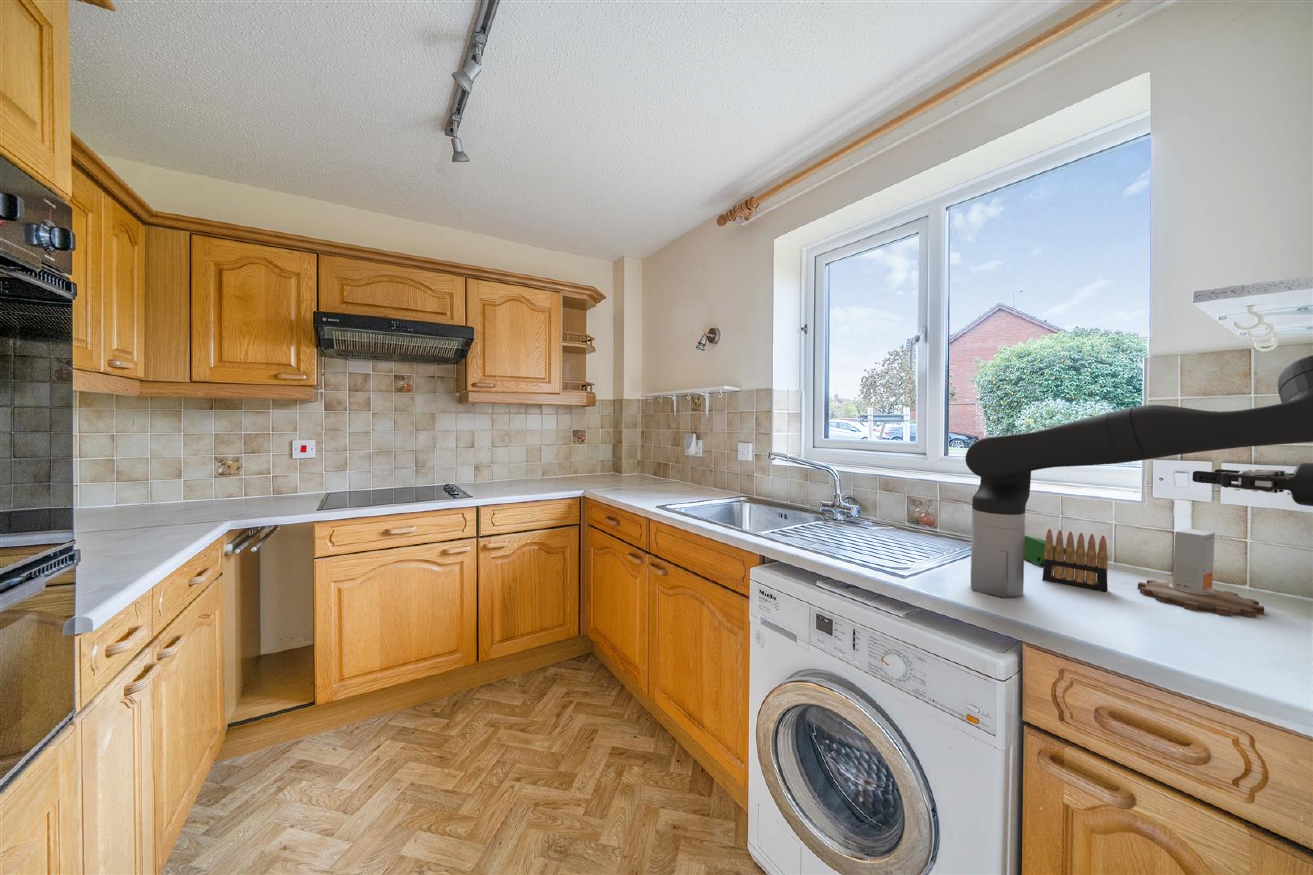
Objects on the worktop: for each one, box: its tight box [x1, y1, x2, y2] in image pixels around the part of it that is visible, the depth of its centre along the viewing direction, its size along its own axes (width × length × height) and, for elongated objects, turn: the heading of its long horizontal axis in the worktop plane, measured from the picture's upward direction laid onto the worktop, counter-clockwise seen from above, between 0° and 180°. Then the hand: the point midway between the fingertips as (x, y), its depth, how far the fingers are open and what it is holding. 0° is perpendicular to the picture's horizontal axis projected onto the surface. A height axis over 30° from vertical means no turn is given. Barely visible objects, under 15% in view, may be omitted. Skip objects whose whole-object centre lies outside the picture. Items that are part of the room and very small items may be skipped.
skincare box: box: [1172, 528, 1216, 593], centre depth 97 cm, size 6×4×12 cm
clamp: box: [1024, 535, 1066, 567], centre depth 121 cm, size 12×6×9 cm, turn 165°
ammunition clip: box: [1042, 528, 1109, 594], centre depth 103 cm, size 11×2×12 cm, turn 45°
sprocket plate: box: [1137, 579, 1265, 618], centre depth 95 cm, size 17×17×1 cm
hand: (1204, 475), depth 94 cm, fingers open, 8 cm apart
